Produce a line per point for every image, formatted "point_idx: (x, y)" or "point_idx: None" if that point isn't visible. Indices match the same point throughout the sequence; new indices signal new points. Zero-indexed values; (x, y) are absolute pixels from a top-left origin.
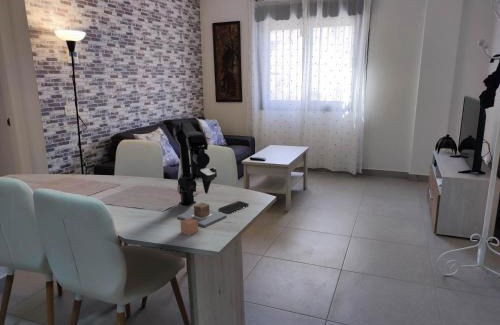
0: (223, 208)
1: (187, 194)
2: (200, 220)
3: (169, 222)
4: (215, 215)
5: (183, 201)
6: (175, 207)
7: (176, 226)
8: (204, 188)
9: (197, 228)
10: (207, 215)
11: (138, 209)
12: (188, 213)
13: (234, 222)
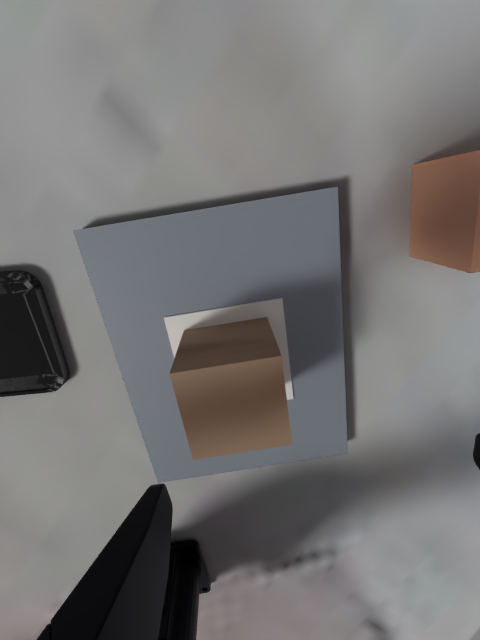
0: (21, 371)
1: (170, 633)
2: (300, 289)
3: (417, 418)
4: (155, 289)
5: (197, 585)
6: (253, 557)
7: (437, 343)
8: (157, 607)
9: (432, 161)
10: (207, 327)
11: (390, 620)
12: None
13: (85, 68)
